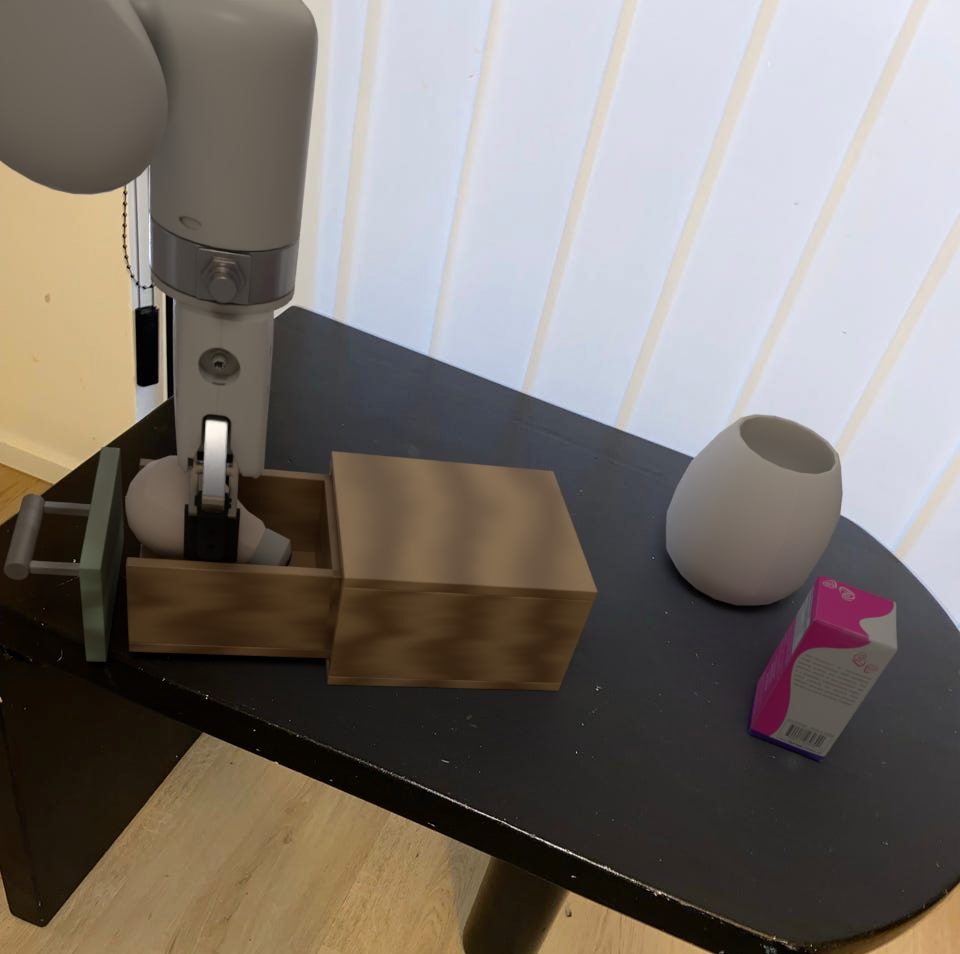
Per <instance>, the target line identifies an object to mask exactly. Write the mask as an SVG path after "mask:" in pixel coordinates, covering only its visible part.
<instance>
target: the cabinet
mask: <svg viewBox="0 0 960 954" xmlns="http://www.w3.org/2000/svg"><path fill="white" fill-rule="evenodd" d="M329 463H330V464H329V470H328V475H332V479H333V489H334V499H335V510H336V520H337V530H338V540H339V551H340V561H341V571H342V584H341V590H340V597H339V603H338V609H337V615H336V622H335V628H334V634H333V641H332V647H331V653H330V658H324V659H325V672H326V684H327V685H332V686H333V685H334V686H364V687H365V686H368V687H369V686H370V687H399V688H401V687H402V688H406V687H407V688H436V689H437V688H439V689H440V688H441V689H474V690H475V689H476V690H477V689H479V690H509V691H510V690H513V691H514V690H515V691H549V692H551V691H553V692H558V691H560V689H561V686H562V683H563V681H564V678H565V676H566V673H567V671H568V668H569V666H570V663H571V662H572V658H573V655H574V653H575V650H576V648H577V646H578V643H579V640H580V638H581V636H582V634H583V633H582V632H583V630H584V627H585V625H586V622H587V621H588V618H589V615H590V613H591V610H592V607H593V605H594V602H595V600H596V598H597V595H598V589H597V586H596V584H595V581H594V578H593V575H592V573H591V569H590V567H589V564H588V562H587V559H586V556H585V553H584V550H583V547H582V545H581V542H580V540H579V537H578V534H577V532H576V529H575V526H574V523H573V521H572V517H571V515H570V513H569V510H568V507H567V504H566V502H565V499H564V496H563V493H562V490H561V488H560V485H559V483H558V480H557V476H556V474H555V471H553V470H543V469H534V468H533V469H531V468H523V467H522V468H521V467H511V466H502V465H501V466H500V465H488V464H480V463H479V464H477V463H465V462H457V461H456V462H455V461H446V460H433V459H424V458H423V459H422V458H411V457H401V456H400V457H399V456H389V455H388V456H387V455H377V454H366V453H357V452H346V451H345V452H344V451H335V450H333V451H331V454H330V462H329Z"/></svg>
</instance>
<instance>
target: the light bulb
mask: <svg viewBox="0 0 960 954" xmlns="http://www.w3.org/2000/svg"><path fill="white" fill-rule="evenodd" d="M155 460H156V461H153V462H150V463H148V464H147V465H146V466H145V467H144V468H143V469H142V470H141V471H140V470H139V471H138V472H137V474H136V475H135V476H134V478H133V479H132V480H131V481H130V483H129V485H128V489H127V492H126V495H125V498H124V502H125V506H124V507H125V515H126V519H127V525H128V527H129V529H130V530H131V532H132V533H133V534H134V536H135V537H136V539H137V540H138V542H140V544H141V543H142V544H144V545H145V546H147V547H148V548H149V549H151V550H152V551H154V552H155V553H156V554H159V555H163V556H166V557H169V558H173V559H184V557H183V552H184V509H185V504H189V482H190V470H189V468H188V472H186V471H185V470H183V469H182V468H181V467H180V466H179V464H178V456H177V455H168V456H165V457H162V458H159V459H155ZM202 486H203V474H199V490H201V491H202ZM228 491H229V488H228V486H227V485H226V483H225V493H228ZM198 493H199V492H198ZM237 508H240V525H239V539H238V553H237V561H236V562H235V564H252V565H269V566H286V567H287V566H288V565H290V563H291V557H292V553H291V544H290V540H289V539H288V538H286V537H284V536H282V535H280V534H278V533H276V532H274V531H272V530H270V529H266V528H265V526H264V524H263V521H261V520H260V519H258V518H257V517H255V516H254V515H252V514H251V513H250V512H248V511H247V510H246V509H245V508H244V506H243V505H242V504H241V503H240V502H239V500H238V499H237Z"/></svg>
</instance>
